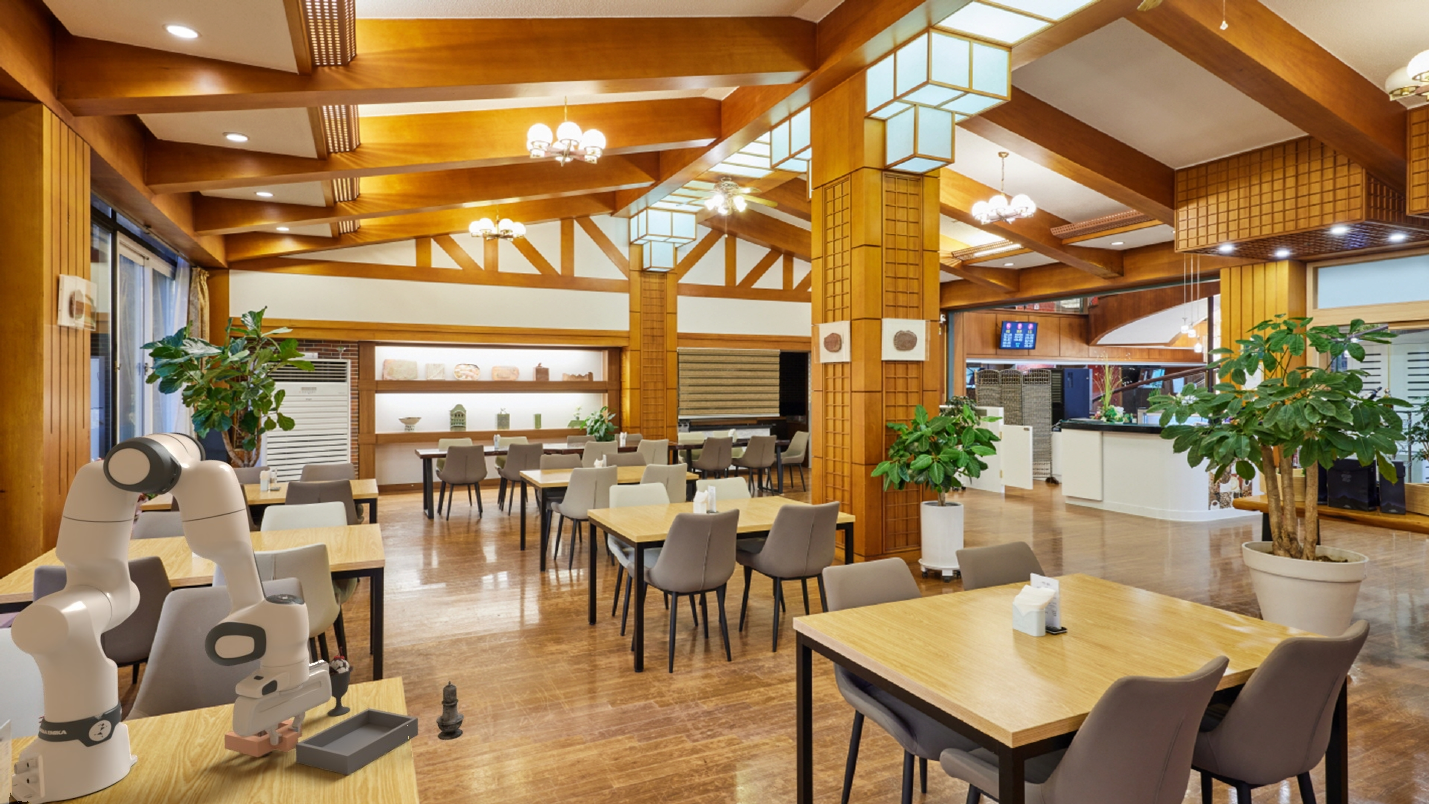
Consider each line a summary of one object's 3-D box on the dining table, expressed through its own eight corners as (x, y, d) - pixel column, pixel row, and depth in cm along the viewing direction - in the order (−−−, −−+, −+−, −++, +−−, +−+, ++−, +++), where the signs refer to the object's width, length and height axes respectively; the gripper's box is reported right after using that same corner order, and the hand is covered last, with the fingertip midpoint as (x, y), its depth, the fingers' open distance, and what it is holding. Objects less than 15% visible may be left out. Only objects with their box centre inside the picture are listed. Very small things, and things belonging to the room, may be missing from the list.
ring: (224, 748, 152) (224, 734, 152) (269, 728, 162) (269, 715, 162) (269, 760, 147) (269, 745, 147) (313, 739, 156) (313, 725, 156)
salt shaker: (455, 741, 160) (454, 686, 159) (430, 739, 161) (430, 685, 161) (469, 729, 165) (468, 676, 165) (445, 727, 166) (445, 675, 166)
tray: (296, 762, 151) (295, 744, 151) (369, 724, 168) (368, 708, 168) (348, 775, 146) (347, 756, 146) (418, 734, 163) (417, 717, 163)
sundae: (350, 703, 180) (349, 643, 180) (357, 712, 175) (356, 650, 175) (320, 711, 176) (319, 649, 176) (326, 720, 171) (325, 656, 171)
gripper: (317, 655, 163) (318, 717, 163) (227, 688, 144) (227, 758, 144) (338, 658, 161) (338, 721, 161) (249, 693, 142) (249, 764, 142)
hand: (285, 739), depth 153 cm, fingers closed on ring, 3 cm apart
